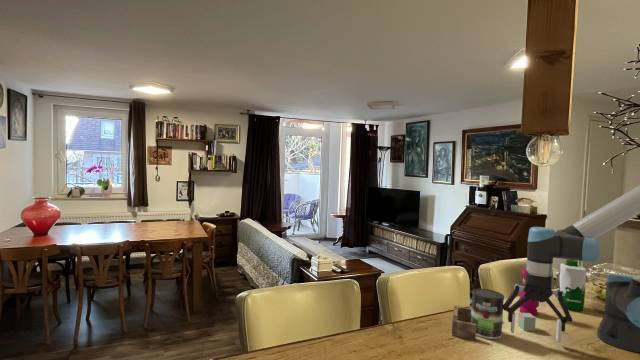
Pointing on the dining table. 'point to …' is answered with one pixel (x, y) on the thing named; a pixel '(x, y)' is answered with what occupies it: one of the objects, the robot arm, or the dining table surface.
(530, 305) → the pepper mill
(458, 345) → the dining table surface
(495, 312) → the coffee can
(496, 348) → the dining table surface
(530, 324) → the sage block
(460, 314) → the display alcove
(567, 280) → the milk carton
